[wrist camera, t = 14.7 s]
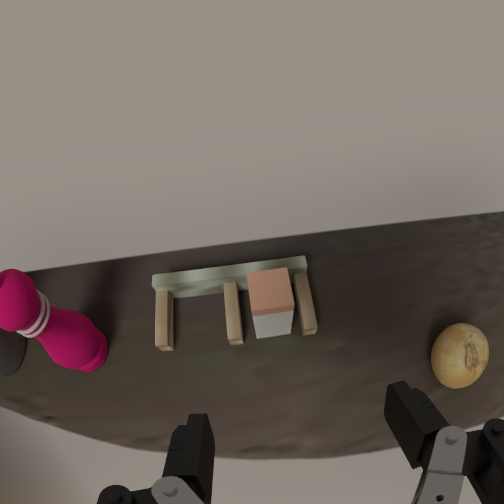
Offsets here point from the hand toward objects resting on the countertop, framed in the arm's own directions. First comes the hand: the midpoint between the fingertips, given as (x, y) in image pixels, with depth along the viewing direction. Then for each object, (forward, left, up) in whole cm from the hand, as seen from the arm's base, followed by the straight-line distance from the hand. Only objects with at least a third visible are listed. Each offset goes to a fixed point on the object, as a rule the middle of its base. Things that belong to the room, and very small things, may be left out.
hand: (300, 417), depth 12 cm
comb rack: (-4, +14, -22) cm, 26 cm away
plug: (0, +13, -22) cm, 25 cm away
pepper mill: (-24, +11, -22) cm, 34 cm away
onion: (+22, +3, -22) cm, 31 cm away
